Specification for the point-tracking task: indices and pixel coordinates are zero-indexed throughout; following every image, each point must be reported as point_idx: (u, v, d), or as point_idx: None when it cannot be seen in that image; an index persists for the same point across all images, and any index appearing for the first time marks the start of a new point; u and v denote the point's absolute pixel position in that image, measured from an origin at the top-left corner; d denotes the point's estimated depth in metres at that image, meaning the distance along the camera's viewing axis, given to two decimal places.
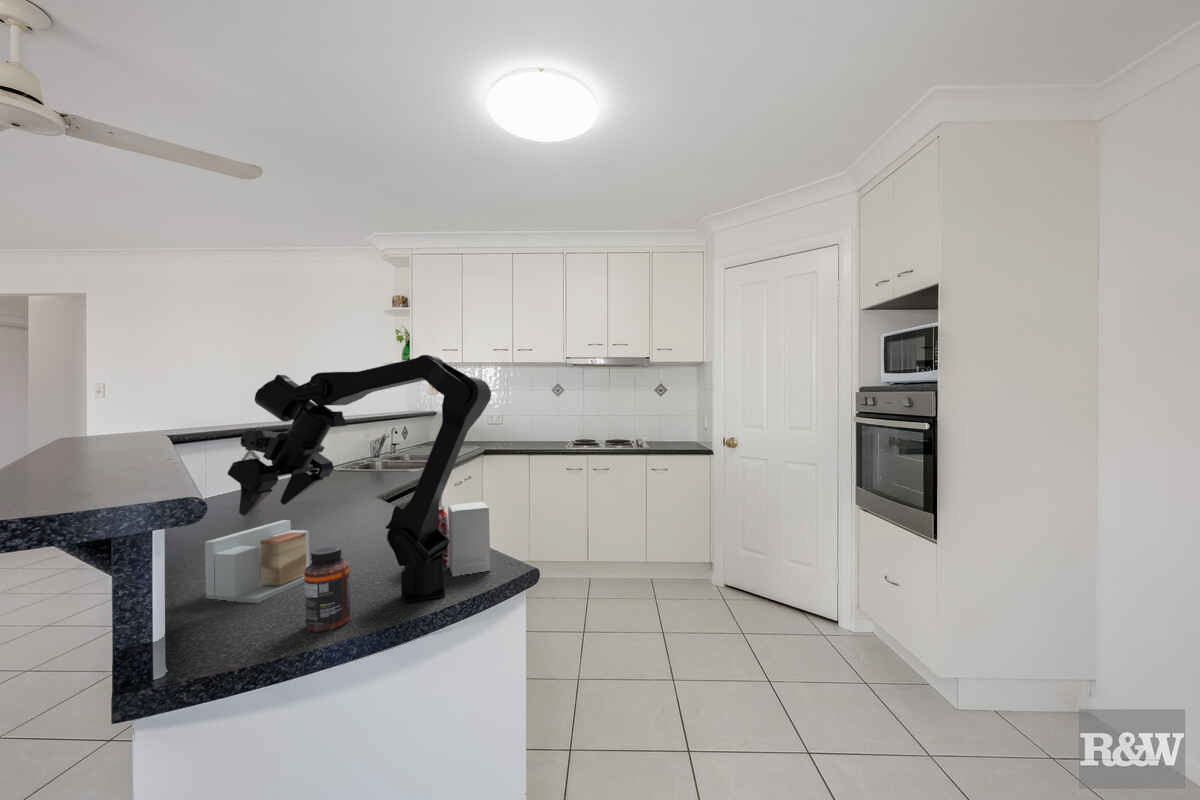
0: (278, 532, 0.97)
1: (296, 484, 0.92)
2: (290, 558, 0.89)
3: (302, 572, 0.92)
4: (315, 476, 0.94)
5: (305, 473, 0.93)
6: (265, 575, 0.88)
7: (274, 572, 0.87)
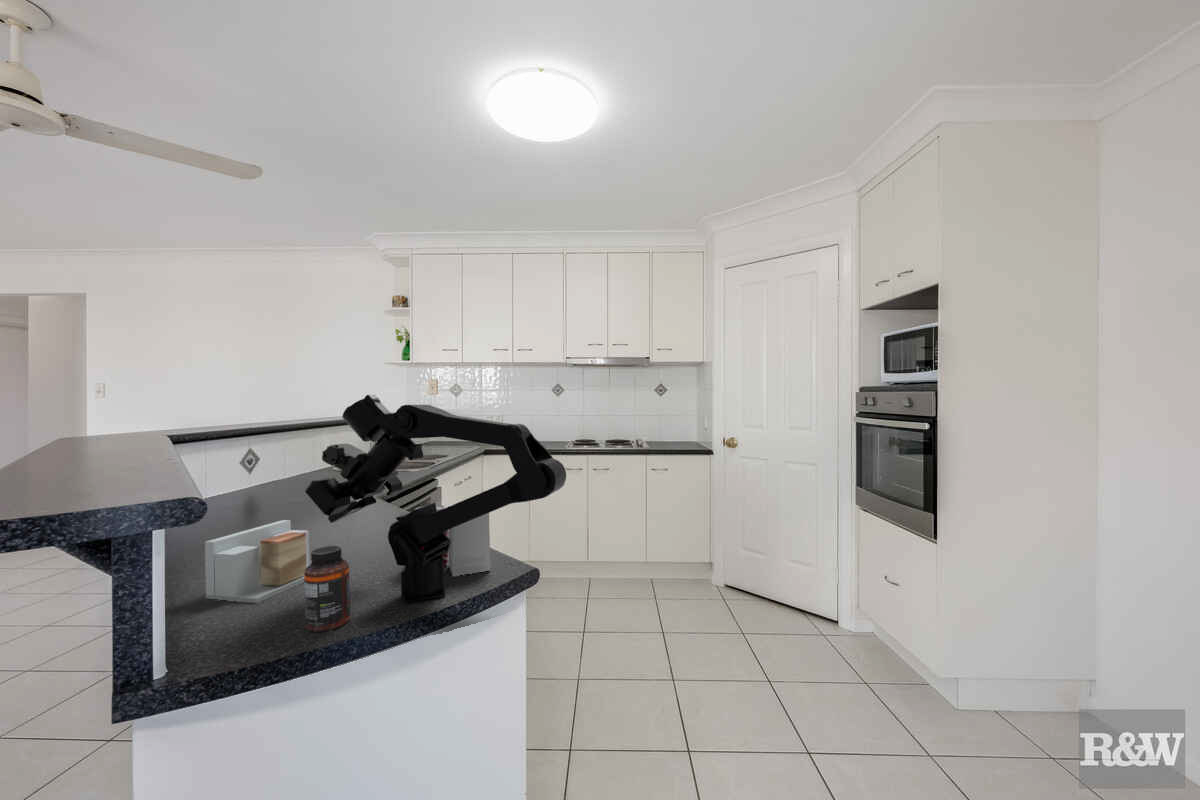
0: (278, 532, 0.97)
1: None
2: (290, 558, 0.89)
3: (302, 572, 0.92)
4: (369, 498, 0.89)
5: None
6: (265, 575, 0.88)
7: (274, 572, 0.87)
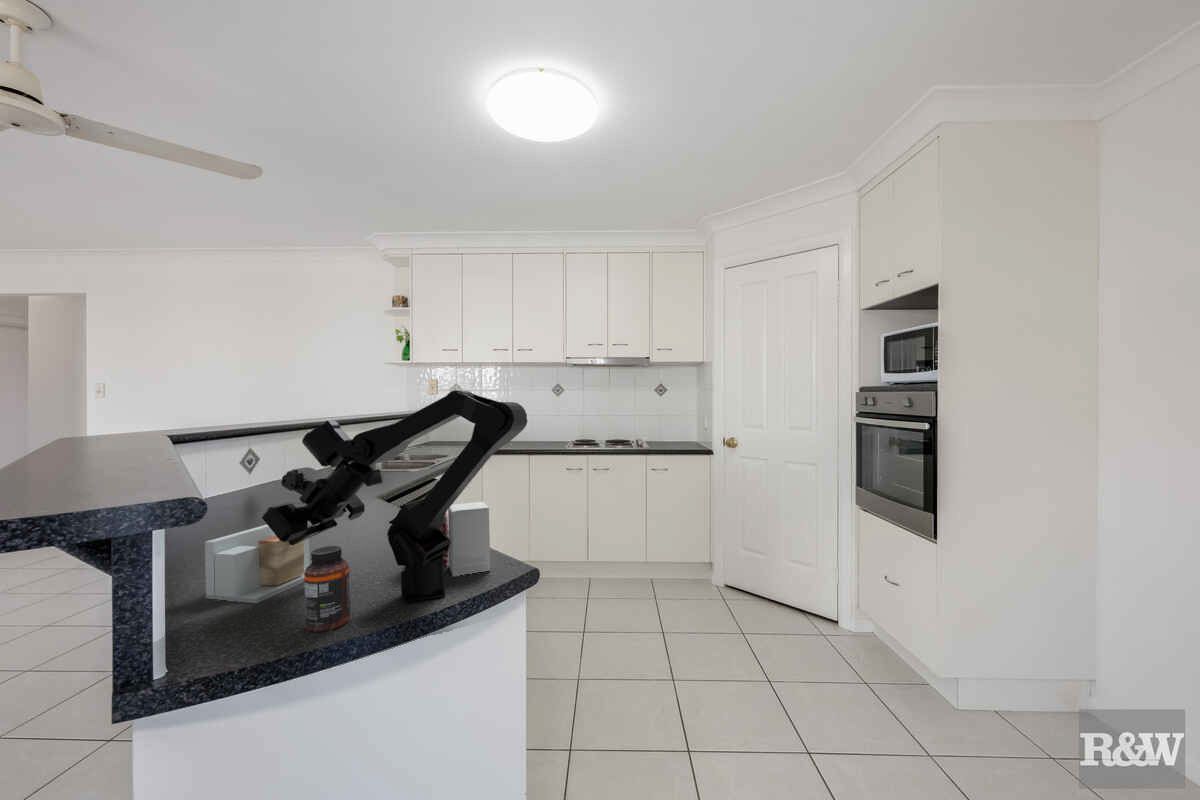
0: None
1: None
2: (287, 558, 0.89)
3: (300, 572, 0.92)
4: (329, 522, 0.91)
5: None
6: (263, 575, 0.88)
7: (272, 572, 0.87)
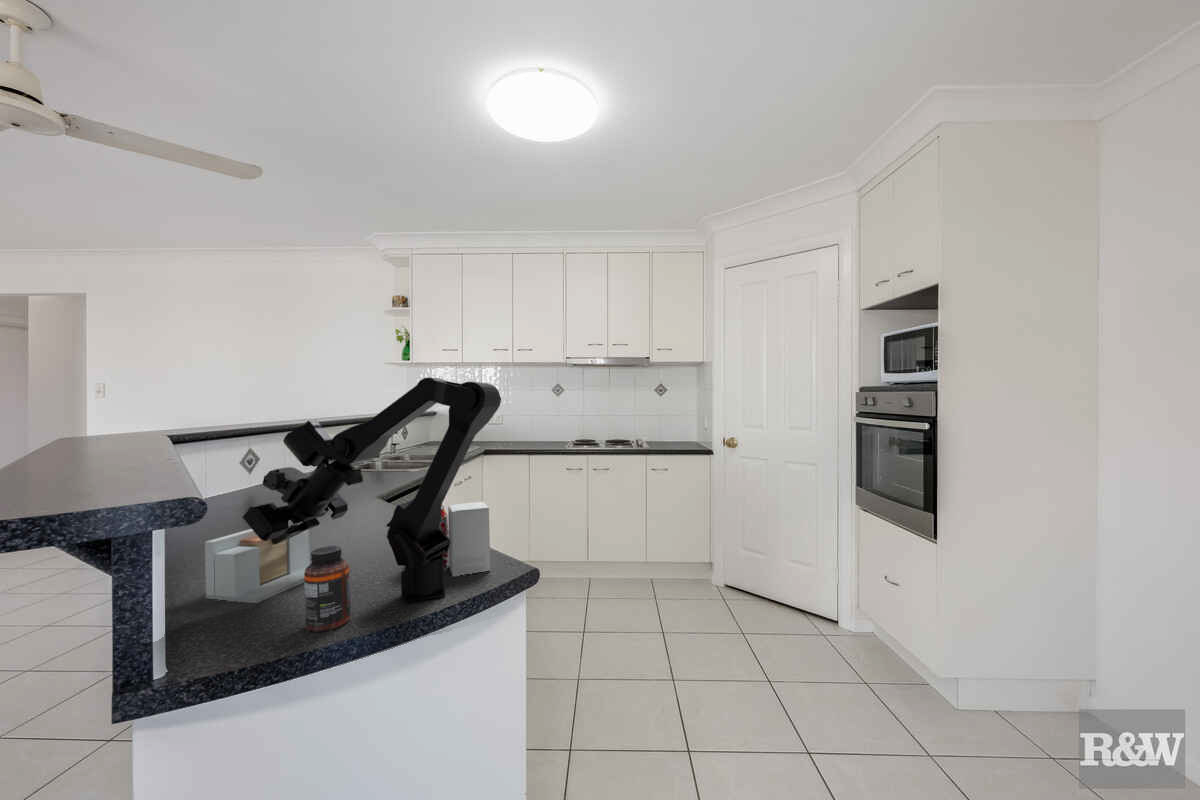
0: None
1: None
2: (270, 557, 0.90)
3: (283, 571, 0.93)
4: (311, 521, 0.92)
5: None
6: None
7: None
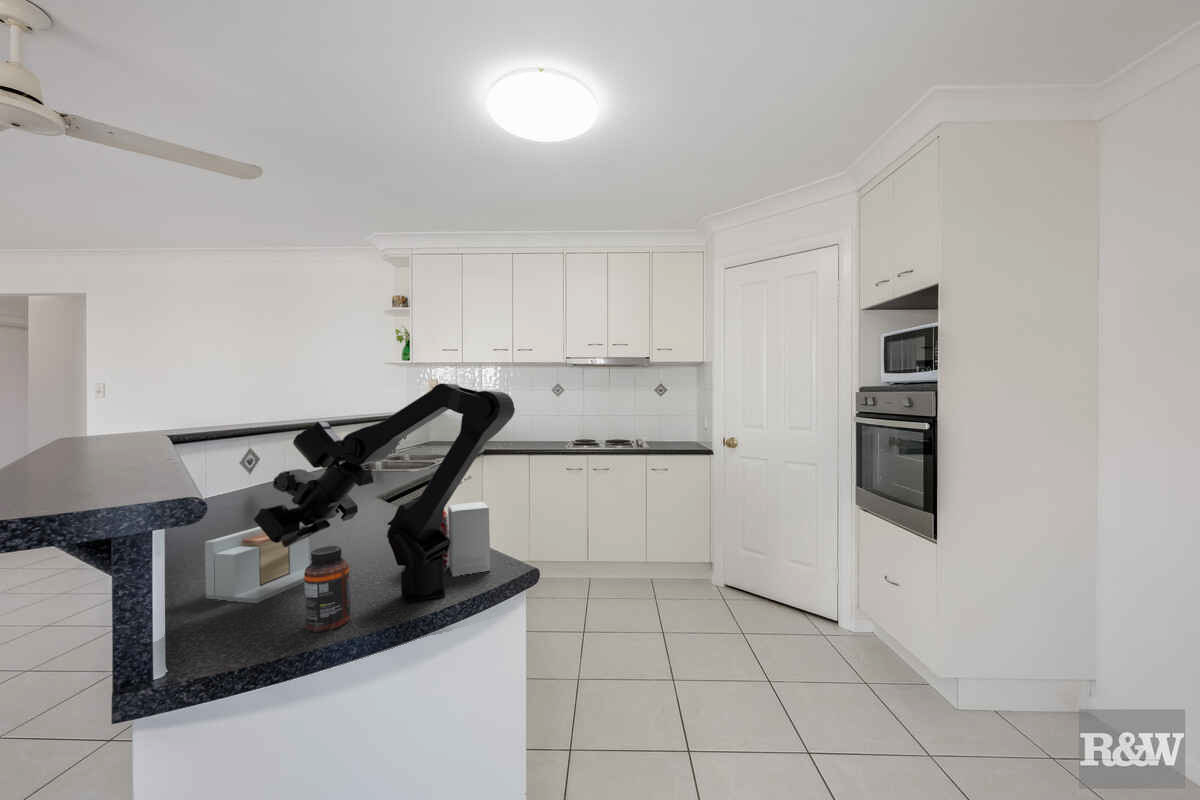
0: None
1: None
2: (272, 557, 0.90)
3: (284, 571, 0.93)
4: (322, 523, 0.91)
5: None
6: None
7: None
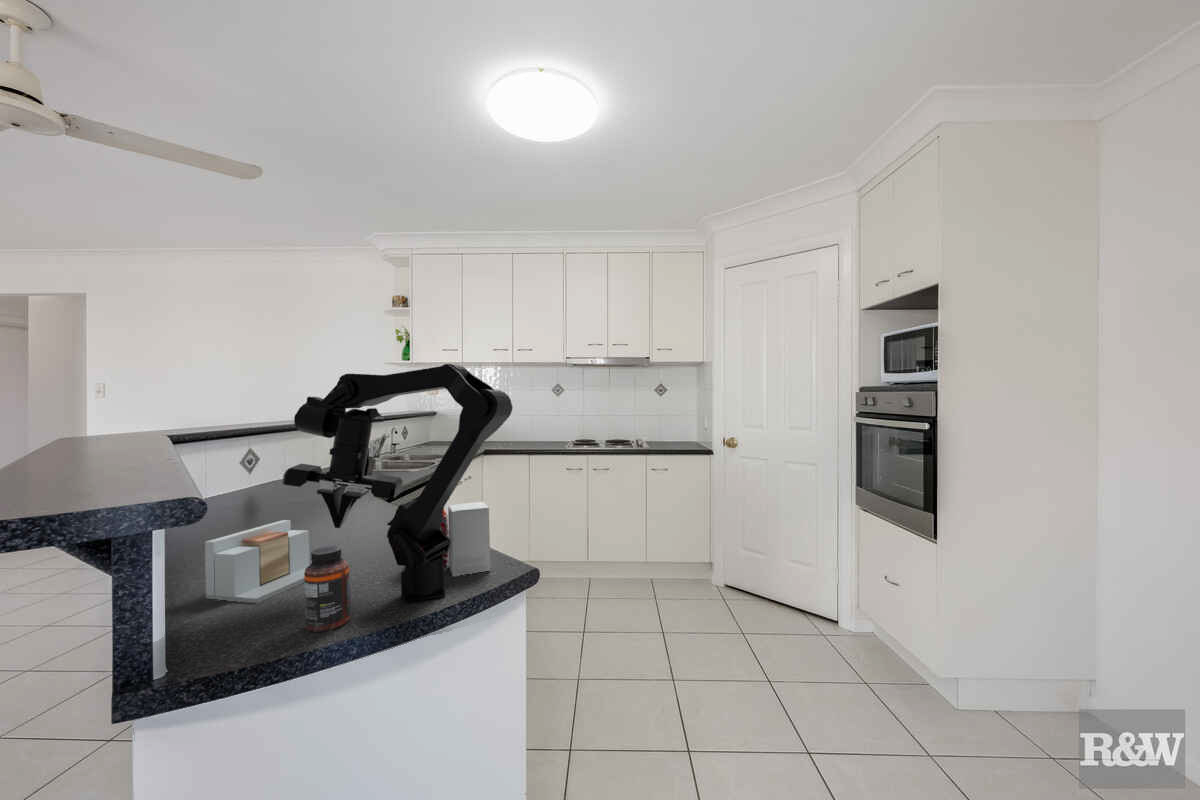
0: None
1: None
2: (272, 557, 0.90)
3: (284, 571, 0.93)
4: (353, 494, 0.86)
5: (348, 491, 0.87)
6: None
7: None
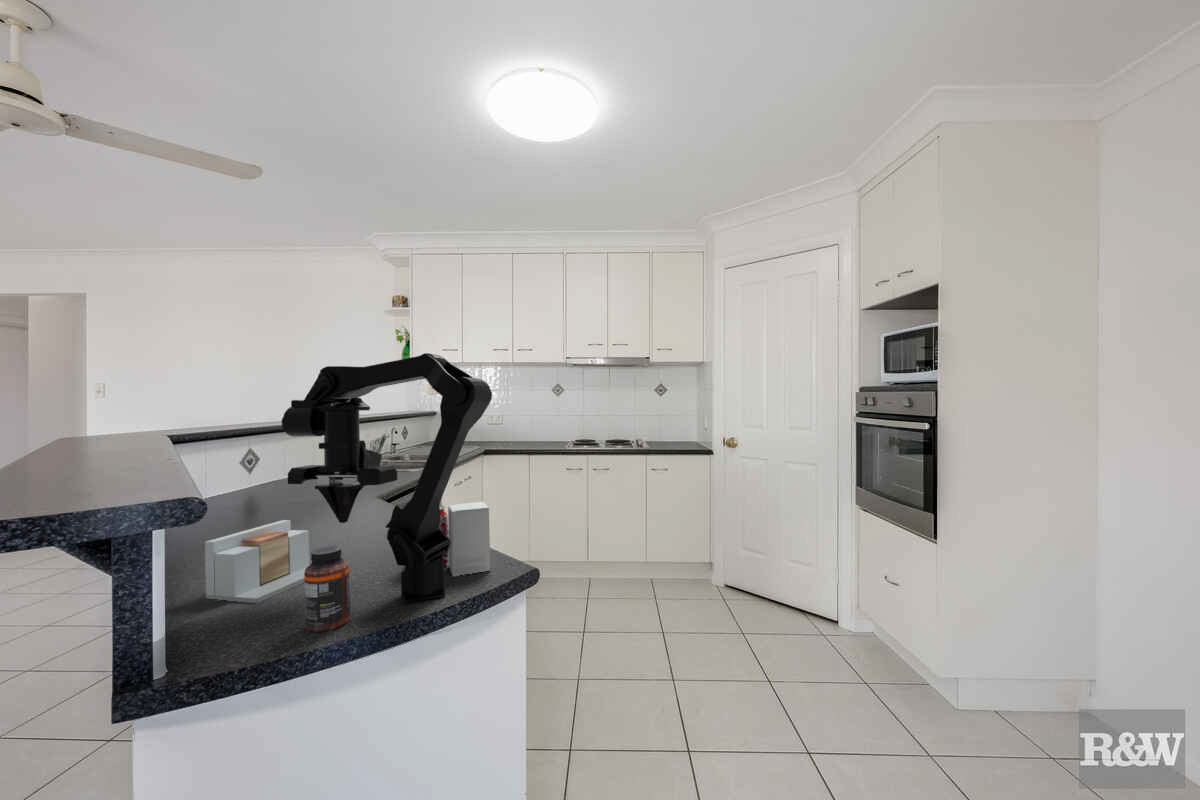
0: None
1: None
2: (272, 557, 0.90)
3: (284, 571, 0.93)
4: (346, 485, 0.86)
5: None
6: None
7: None
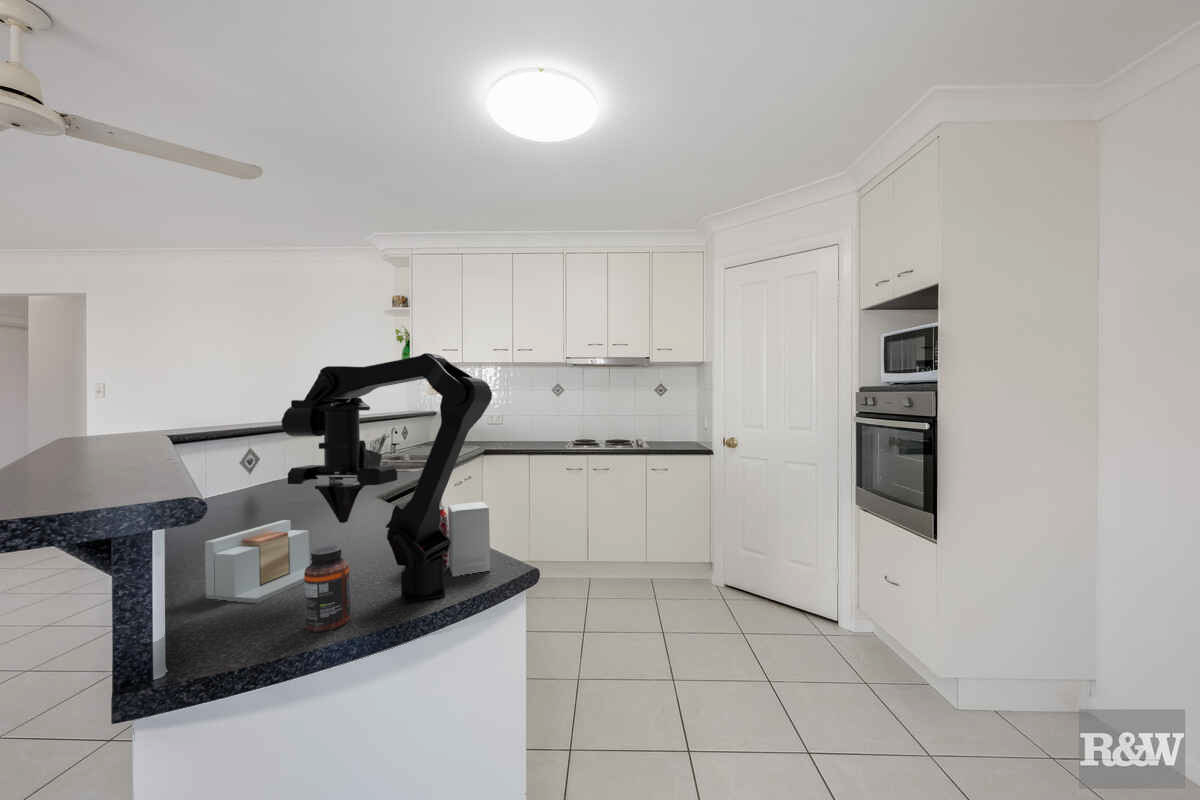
0: None
1: None
2: (272, 557, 0.90)
3: (284, 571, 0.93)
4: (346, 485, 0.86)
5: None
6: None
7: None
